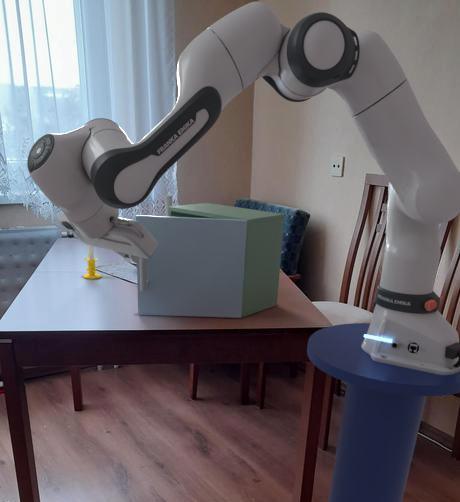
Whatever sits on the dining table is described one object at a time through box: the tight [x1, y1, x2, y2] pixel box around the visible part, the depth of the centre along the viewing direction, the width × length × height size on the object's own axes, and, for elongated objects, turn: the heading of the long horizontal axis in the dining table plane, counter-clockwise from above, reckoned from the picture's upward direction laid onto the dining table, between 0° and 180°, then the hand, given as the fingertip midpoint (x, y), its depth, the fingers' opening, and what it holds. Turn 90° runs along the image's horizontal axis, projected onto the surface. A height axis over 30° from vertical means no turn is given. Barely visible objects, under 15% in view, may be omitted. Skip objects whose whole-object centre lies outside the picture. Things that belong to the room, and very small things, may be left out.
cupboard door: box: [135, 214, 247, 319], centre depth 132 cm, size 6×26×24 cm, turn 93°
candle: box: [82, 245, 102, 280], centre depth 167 cm, size 5×5×16 cm
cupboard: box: [168, 202, 286, 318], centre depth 149 cm, size 16×26×24 cm, turn 53°
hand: (133, 259), depth 118 cm, fingers closed
